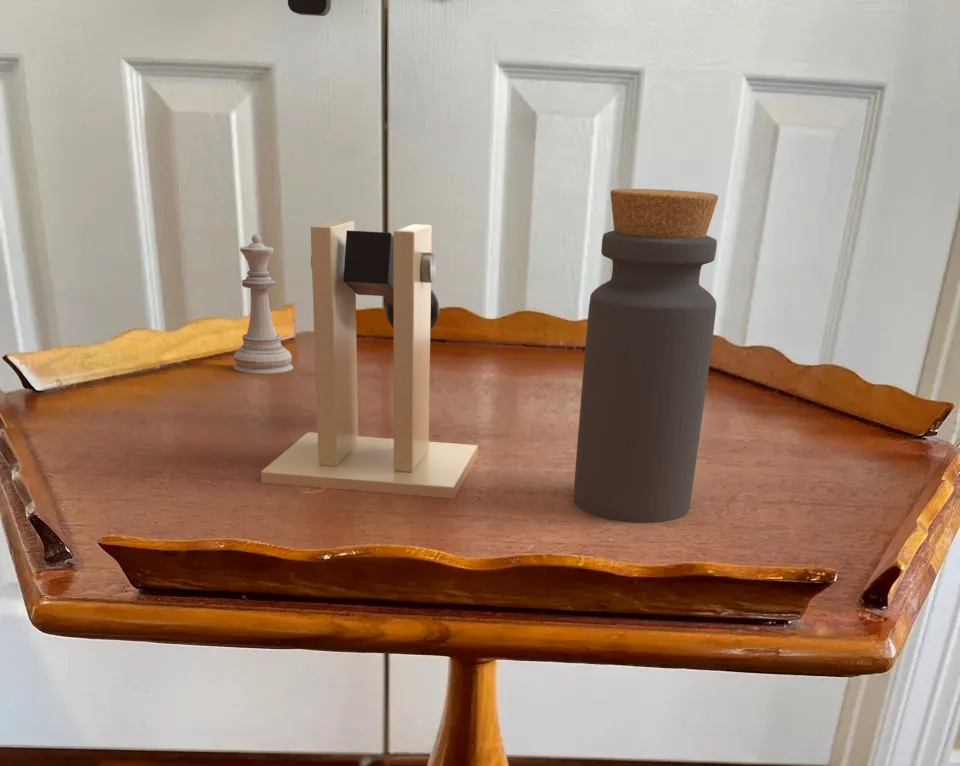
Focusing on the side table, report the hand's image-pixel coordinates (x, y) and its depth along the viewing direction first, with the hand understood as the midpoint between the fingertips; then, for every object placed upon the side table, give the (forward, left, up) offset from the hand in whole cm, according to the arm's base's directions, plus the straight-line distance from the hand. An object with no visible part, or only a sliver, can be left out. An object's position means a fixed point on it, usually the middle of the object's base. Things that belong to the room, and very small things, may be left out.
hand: (276, 2), depth 52 cm
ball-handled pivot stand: (+7, -5, -23) cm, 24 cm away
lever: (+6, 0, -15) cm, 16 cm away
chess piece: (-11, +15, -23) cm, 29 cm away
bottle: (+21, -5, -23) cm, 31 cm away
